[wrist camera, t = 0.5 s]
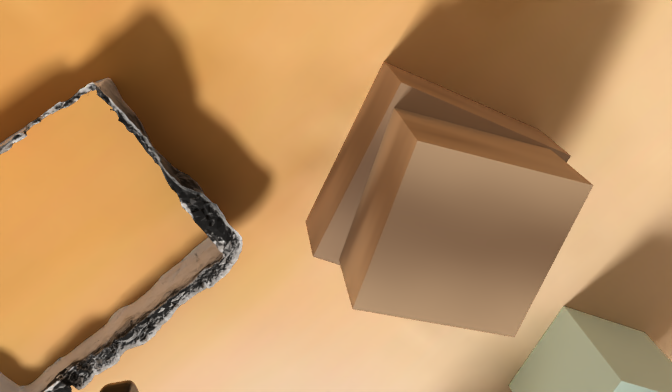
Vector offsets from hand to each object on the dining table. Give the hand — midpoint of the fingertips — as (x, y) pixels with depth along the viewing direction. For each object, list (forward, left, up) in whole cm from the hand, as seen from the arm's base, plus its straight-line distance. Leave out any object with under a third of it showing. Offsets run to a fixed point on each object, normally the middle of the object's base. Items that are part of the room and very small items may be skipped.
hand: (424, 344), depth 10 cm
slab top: (-2, -5, -12) cm, 13 cm away
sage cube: (-8, -17, -15) cm, 24 cm away
